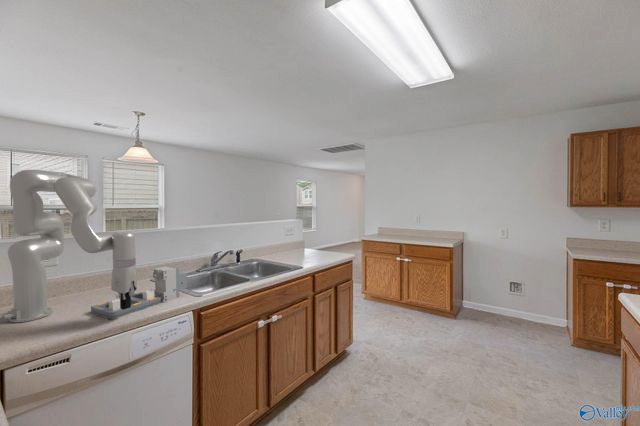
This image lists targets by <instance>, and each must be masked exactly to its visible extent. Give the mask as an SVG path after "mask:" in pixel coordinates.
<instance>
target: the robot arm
mask: <svg viewBox="0 0 640 426" xmlns="http://www.w3.org/2000/svg"><path fill="white" fill-rule="evenodd" d="M9 191H10V194H11V199H12V224H13V225H12V226H13V231H14V233H15V234H16V235H17V236H21V237H30V236H39V235H40V237H36V238H28V239H27V238H26V239H23V240H22V239H21V240H18V241H16V242H14V243H13V244H10V246H9V247H8V249H7V257H8V260H9V263H10V266H11V273H12V289H13V290H12V291H13V292H12V294H13V297H12V298H13V307H10V310H8V311H7V312H2V313H0V320H1V319H4V320H5V319H8V322H9V323H26V322H30V321H35V320H39V319H42V318H45V317H48V316H49V315H51V314H52V313H53V311H54V310H53V308H51V307H48V290H47V289H48V288H47V287H48V285H47V270H46V268H45V266H44V265H43V264H42V262H41V261H46V260H50V259H54V258H57V257H59V256H60V255H61V254H63V251H64V247H65V246H64V244H65V238H64V237H65V228H64V227H65V225H64V221H63V218H62V217H61V216H60V215H59V213H56V212H53V211H44V202H43V201H44V200H43V199H42V196H40V194H39V193H38V192H44V193H45V192H46V193H47V192H49V193H56V195H57V196H58V198H59V199H60V201H61V203H63V205H64V206H65V208H66V209H67V211H68V212H69V214H70V216H71V222H70V229H71V231H70V232H71V236H72V237H73V239H74V240H75V242H76V243H77V245H78V246H79V247H80V248H81V249H82V250H83V251H84V252H86V253H88V254H97V253H102V252H107V251H112V271H111V288H110V289H111V290H112V291H113V292H115V293H118V294H119V298H120V309H123V310H124V309H127V308H130V307H131V297H132V295H135V294H136V293H135V291H137V289H138V277H137V270H136V235H135V233H133V232H130V231H129V232H127V231H125V232H117V231H103V232H102V231H101V232H95V231H94V230H93V229H92V227H91V226H90V224H89V217H90V216H92V215H93V214H95V213H96V212H97V210H98V206H97V205H96V204H95V202H94V200H93V199H92V197H94V196H95V195H96V193H97V186H96V184H95V183H94V182H93V181H92V180H90V179H89V178H85V177H82V176H81V177H80V176H77V175H72V174H69V173H64V172H60V171H49V170H42V169H23V170H19V171H18V172H16V173H15V174H13V176H12V177H11V178H10V181H9Z"/></svg>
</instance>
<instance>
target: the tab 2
mask: <svg viewBox="0 0 640 426" xmlns="http://www.w3.org/2000/svg"><path fill="white" fill-rule="evenodd" d="M154 290H155V289H152V288H150V289H146V290H144V291H142V293H143V300H148V299H151V298H155V297H154Z"/></svg>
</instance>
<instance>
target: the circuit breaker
mask: <svg viewBox="0 0 640 426" xmlns="http://www.w3.org/2000/svg"><path fill="white" fill-rule="evenodd" d="M152 277H153V279H154V281H155V282H154V283H155V284H154V285H155V286H154V288H155V289H153V290H154V296H158V297H161V303H167V302H170V301H172V300H175V299H178V298H180V290H183V289H185V288H188V285H187V284H188V275H187V272H183V271H180V267H178V266H174V265H173V266H172V265H166V266H161V267H157V268H154V269H153V272H152Z"/></svg>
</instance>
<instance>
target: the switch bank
mask: <svg viewBox="0 0 640 426" xmlns="http://www.w3.org/2000/svg"><path fill="white" fill-rule="evenodd" d="M154 297H155V298H151V299H148V300H143V291H141V292H138V293H135V295H132V297H131V307H130V308H127V309H124V310H123V309H117V310H114V311H110V310H109V301H105V302H101V303H97V304H96V305H91V306H90V313H91V314H94V315H96V316H99V317H101V318H102V317H103V318H105V319H109V320H114V319H117V318H121V317H122V316H126V315H130V314H132V313H136V312H138V311H141V310H144V309H147V308H150V307H153V306H157V305H159V304H162V302H161V297H158V296H154Z"/></svg>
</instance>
